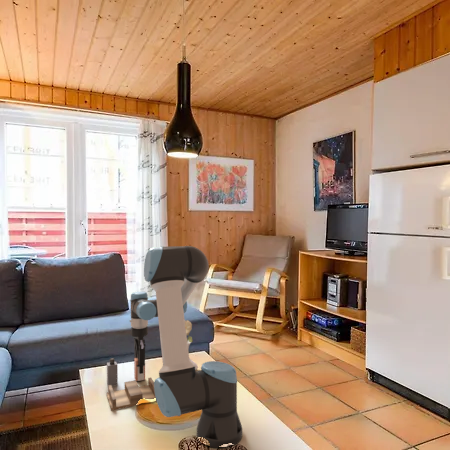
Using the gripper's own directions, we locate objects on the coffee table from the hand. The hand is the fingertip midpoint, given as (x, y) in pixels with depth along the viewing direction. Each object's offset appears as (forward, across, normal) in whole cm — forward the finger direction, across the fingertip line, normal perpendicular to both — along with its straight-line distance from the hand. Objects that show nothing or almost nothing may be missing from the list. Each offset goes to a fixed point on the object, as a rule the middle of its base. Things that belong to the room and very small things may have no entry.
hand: (139, 378), depth 166 cm
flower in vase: (+1, +1, +22) cm, 22 cm away
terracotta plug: (0, 0, 0) cm, 0 cm away
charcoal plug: (+1, 0, -12) cm, 12 cm away
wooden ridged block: (+1, +17, -6) cm, 18 cm away
